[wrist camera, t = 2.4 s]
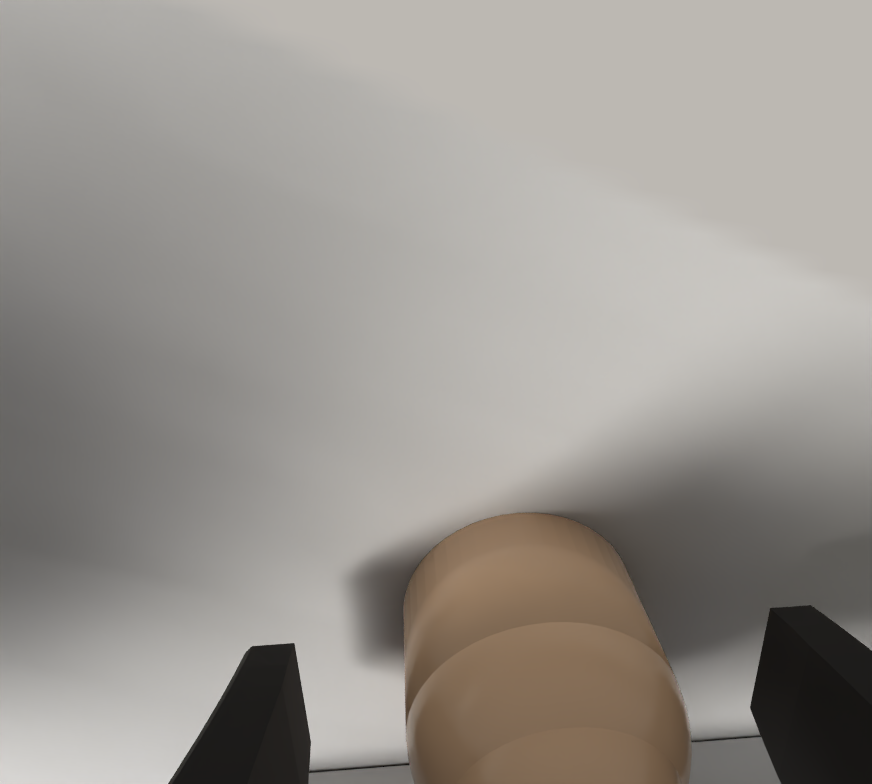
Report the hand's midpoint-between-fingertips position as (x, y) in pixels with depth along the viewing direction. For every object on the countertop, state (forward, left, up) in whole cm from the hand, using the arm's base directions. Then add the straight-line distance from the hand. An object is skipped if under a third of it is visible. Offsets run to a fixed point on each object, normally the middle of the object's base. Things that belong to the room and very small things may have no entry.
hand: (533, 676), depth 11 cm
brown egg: (0, 0, -2) cm, 2 cm away
